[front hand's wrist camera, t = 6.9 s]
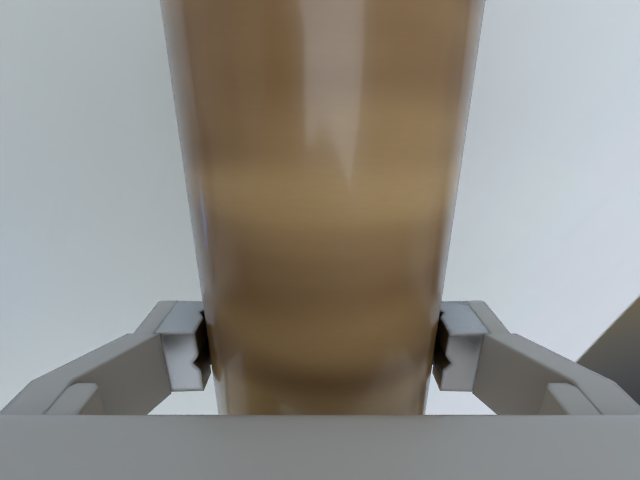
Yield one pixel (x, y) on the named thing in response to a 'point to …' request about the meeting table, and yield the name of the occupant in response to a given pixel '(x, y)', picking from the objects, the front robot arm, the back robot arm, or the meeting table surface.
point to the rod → (322, 191)
